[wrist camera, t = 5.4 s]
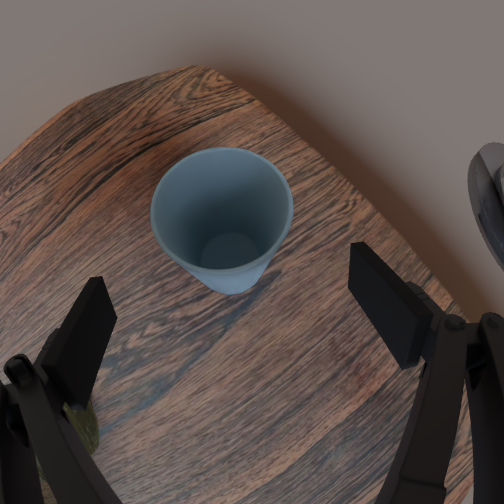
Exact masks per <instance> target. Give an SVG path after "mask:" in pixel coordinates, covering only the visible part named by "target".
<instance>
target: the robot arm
mask: <svg viewBox="0 0 504 504" xmlns="http://www.w3.org/2000/svg"><path fill="white" fill-rule="evenodd" d="M496 188H497V194H498V198H499V202H500V205H501V208H502V211H503V214H504V163H503V164H502V165H501V166H500V167H499V169H498V171H497V175H496ZM348 289H349V290H350V292H351V293H352V294H353V296H354V297H355V299H356V300H357V302H358V303H359V305H360V306H361V308H362V309H363V311H364V312H365V314H366V315H367V317H368V318H369V320H370V321H371V323H372V324H373V326H374V327H375V329H376V330H377V332H378V333H379V335H380V336H381V338H382V339H383V341H384V342H385V344H386V345H387V347H388V349H389V350H390V352H391V353H392V355H393V356H394V358H395V360H396V361H397V363H398V364H399V366H400V367H401V369H402V370H405V369H408V368H411V367H414V366H417V364H418V362H419V359H420V356H422V357H423V359H424V360H425V363H424V366H423V368H422V371H421V373H420V376H419V378H418V379H420V381H419V385H418V389H417V392H416V396H415V399H414V403H413V406H412V409H411V413H410V416H409V419H408V422H407V425H406V428H405V431H404V434H403V437H402V439H401V442H400V445H399V448H398V450H397V453H396V455H395V458H394V460H393V463H392V465H391V468H390V470H389V472H388V475H387V477H386V479H385V482H384V484H383V486H382V488H381V490H380V493H379V495H378V497H377V499H376V501H375V503H374V504H443V503H444V500H445V496H446V488H445V487H444V480H445V476H446V473H447V469H448V465H449V462H450V458H451V454H452V449H453V445H454V441H455V436H456V431H457V426H458V420H459V415H460V409H461V402H462V395H463V387H464V378H465V383H466V389H467V396H468V403H469V411H470V420H471V430H472V443H473V465H474V495H473V496H474V497H473V504H504V318H503V317H501V316H500V315H498V314H496V313H492V312H489V313H485V314H483V315H482V318H481V320H480V322H479V323H466V321H465V320H464V319H463V318H461V317H460V316H457V315H453V314H446V313H445V312H444V311H443V310H442V309H441V308H440V307H439V306H438V305H437V304H436V303H435V302H434V301H433V300H432V299H430V297H429V296H428V294H426V293H425V291H424V290H423V289H422V288H421V287H420V286H418V285H416V284H414V283H413V282H411V281H409V282H404V281H403V280H402V279H401V278H400V277H399V276H398V275H397V274H396V273H395V272H394V271H393V270H392V269H391V268H390V267H389V266H388V265H387V264H386V263H385V262H384V261H383V260H382V259H381V258H380V257H379V256H378V255H377V254H376V253H375V252H374V251H373V250H372V249H371V248H370V247H369V246H368V245H367V244H366V243H365V242H364V241H363V242H356V243H351V247H350V265H349V280H348ZM116 321H117V315H116V313H115V310H114V308H113V305H112V302H111V300H110V297H109V294H108V291H107V289H106V286H105V283H104V280H103V277H102V276H99V277H91V278H90V279H89V280H88V282H87V283H86V285H85V286H84V288H83V290H82V291H81V293H80V294H79V296H78V298H77V299H76V301H75V303H74V304H73V306H72V308H71V309H70V311H69V313H68V314H67V316H66V318H65V320H64V321H63V323H62V325H61V327H60V328H56V329H55V330H54V331H53V332H52V333H51V334H50V335H49V337H48V338H47V340H46V342H45V344H44V346H43V347H42V350H41V351H40V353H39V355H38V357H37V359H36V360H35V362H34V364H33V365H32V364H31V362H30V360H29V359H28V357H27V356H26V355H24V354H17V355H15V356H13V357H11V358H10V359H9V360H8V361H7V362H6V364H5V366H4V373H5V374H6V376H7V377H8V378H9V380H10V381H11V383H12V384H7V385H3V383H2V382H1V380H0V504H45V503H44V499H43V495H42V490H41V485H40V480H39V474H38V468H37V462H36V456H37V459H38V461H39V464H40V466H41V468H42V471H43V473H44V475H45V478H46V480H47V482H48V484H49V486H50V488H51V490H52V492H53V494H54V496H55V498H56V500H57V502H58V504H123V503H122V502H121V501H120V499H119V498H118V497H117V495H116V494H115V493H114V491H113V490H112V488H111V487H110V486H109V484H108V483H107V481H106V480H105V478H104V477H103V475H102V474H101V472H100V471H99V469H98V468H97V466H96V465H95V463H94V461H93V460H92V458H91V456H90V455H89V453H88V452H87V450H86V448H85V446H84V445H83V443H82V441H81V439H80V438H79V436H78V434H77V432H76V430H75V429H74V427H73V425H72V423H71V421H70V419H69V417H68V415H67V413H66V412H65V410H64V409H63V406H64V403H65V402H66V403H67V405H68V406H69V407H70V409H71V410H80V411H86V409H87V405H88V402H89V399H90V395H91V392H92V389H93V386H94V383H95V380H96V377H97V374H98V371H99V368H100V365H101V362H102V359H103V356H104V353H105V350H106V348H107V345H108V342H109V339H110V337H111V334H112V331H113V329H114V326H115V323H116ZM35 454H36V455H35Z"/></svg>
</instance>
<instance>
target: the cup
mask: <svg viewBox="0 0 504 504" xmlns="http://www.w3.org/2000/svg"><path fill="white" fill-rule="evenodd" d="M292 218H293V198H292V193H291V190H290V187H289V185H288V183H287V181H286V179H285V178H284V176H283V175H282V173H281V172H280V171H279V170H278V169H277V168H276V167H275V166H274V165H273V164H272V163H271V162H270V161H268V160H267V159H265V158H264V157H262V156H260V155H258V154H256V153H254V152H251V151H248V150H245V149H240V148H234V147H215V148H209V149H205V150H201V151H198V152H195V153H193V154H191V155H189V156H187V157H185V158H183V159H182V160H180V161H179V162H177V163H176V164H175V165H174V166H173V167H171V168H170V169H169V170H168V171H167V172H166V174H165V175H164V176H163V177H162V179H161V180H160V182H159V184H158V185H157V187H156V190H155V192H154V194H153V198H152V202H151V208H150V220H151V226H152V230H153V233H154V235H155V238H156V240H157V242H158V243H159V245H160V247H161V248H162V249H163V250H164V252H165V253H166V254H167V255H168V256H169V257H170V258H171V259H173V260H174V261H175V262H176V263H178V264H179V265H180V266H182V267H183V268H184V269H186V270H187V271H188V272H189V273H191V274H192V275H193V276H195V277H196V278H197V279H198V280H200V281H201V282H202V283H204V284H205V285H206V286H208V287H209V288H210V289H212V290H214V291H217V292H219V293H223V294H227V295H232V294H238V293H242V292H245V291H246V290H248V289H249V288H251V287H252V286H253V285H255V283H256V282H257V281H258V279H259V278H260V276H261V275H262V273H263V272H264V270H265V268H266V267H267V265H268V264H269V262H270V260H271V259H272V257H273V256H274V255H275V253H276V252H277V250H278V249H279V247H280V246H281V244H282V243H283V241H284V239H285V238H286V236H287V234H288V232H289V229H290V226H291V223H292Z"/></svg>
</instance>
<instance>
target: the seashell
mask: <svg viewBox="0 0 504 504" xmlns="http://www.w3.org/2000/svg"><path fill="white" fill-rule="evenodd" d="M63 409H64V410H65V412H66V413H67V415H68V417H69V419H70V421H71V423H72V425H73V427H74V429H75V430H76V432H77V434H78V436H79V438H80V439H81V441H82V443H83V445H84V446H85V448H86V450H87V452H88V453H89V455H90V456H91V457H92V455H93V454H94V452H95V450H96V448H97V447H98V445H99V433H98V432H99V429H98V422H97V418H96V415H95V412H94V409H93V407H92V405H91V402H90V400H89V402H88V405H87V409H86V411H80V410H71V409H70V407H69V406H68V405H67V403H66V402H65V403H64V406H63ZM35 455H36V454H35ZM36 462H37V468H38V474H39V475H40V476H41V477H42V478H43V479H44V480H45V481H46V482H47V480H46V478H45V475H44V473H43V471H42V468H41V466H40V464H39V461H38V459H37V456H36ZM47 483H48V482H47Z"/></svg>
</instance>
